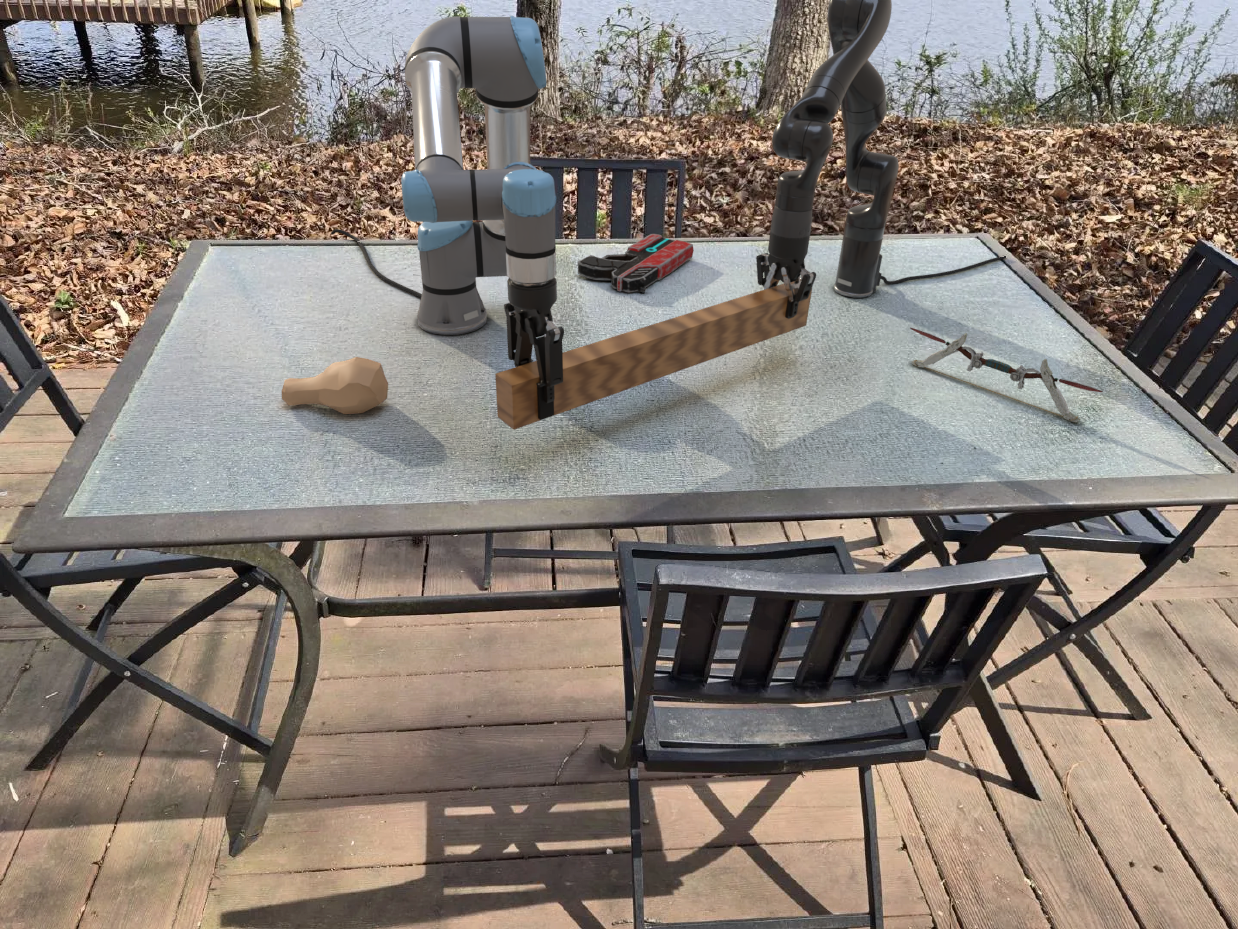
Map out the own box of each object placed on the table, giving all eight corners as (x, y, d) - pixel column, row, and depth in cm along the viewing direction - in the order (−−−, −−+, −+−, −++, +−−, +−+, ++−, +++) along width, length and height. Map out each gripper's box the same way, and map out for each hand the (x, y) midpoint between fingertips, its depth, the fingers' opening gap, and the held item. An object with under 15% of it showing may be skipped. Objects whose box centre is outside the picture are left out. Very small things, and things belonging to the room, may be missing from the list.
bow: (1091, 425, 165) (1109, 378, 160) (1088, 428, 164) (1106, 381, 159) (904, 358, 187) (914, 315, 181) (900, 361, 186) (910, 317, 180)
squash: (388, 420, 161) (373, 382, 155) (283, 428, 163) (264, 391, 156) (399, 383, 169) (385, 345, 163) (299, 392, 170) (282, 354, 164)
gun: (571, 262, 216) (639, 281, 209) (634, 226, 238) (698, 242, 231) (571, 279, 219) (638, 298, 211) (633, 242, 241) (696, 258, 233)
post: (513, 430, 142) (511, 385, 137) (497, 417, 145) (495, 373, 140) (806, 325, 179) (812, 288, 175) (788, 317, 182) (793, 280, 178)
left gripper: (587, 290, 129) (586, 425, 142) (520, 254, 141) (525, 382, 154) (544, 302, 126) (548, 440, 138) (479, 264, 137) (488, 394, 150)
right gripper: (832, 236, 163) (819, 320, 173) (776, 215, 173) (766, 296, 182) (805, 244, 160) (793, 329, 169) (749, 223, 169) (740, 305, 178)
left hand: (536, 409), depth 146 cm, fingers closed on post, 5 cm apart
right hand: (779, 312), depth 176 cm, fingers closed on post, 5 cm apart
